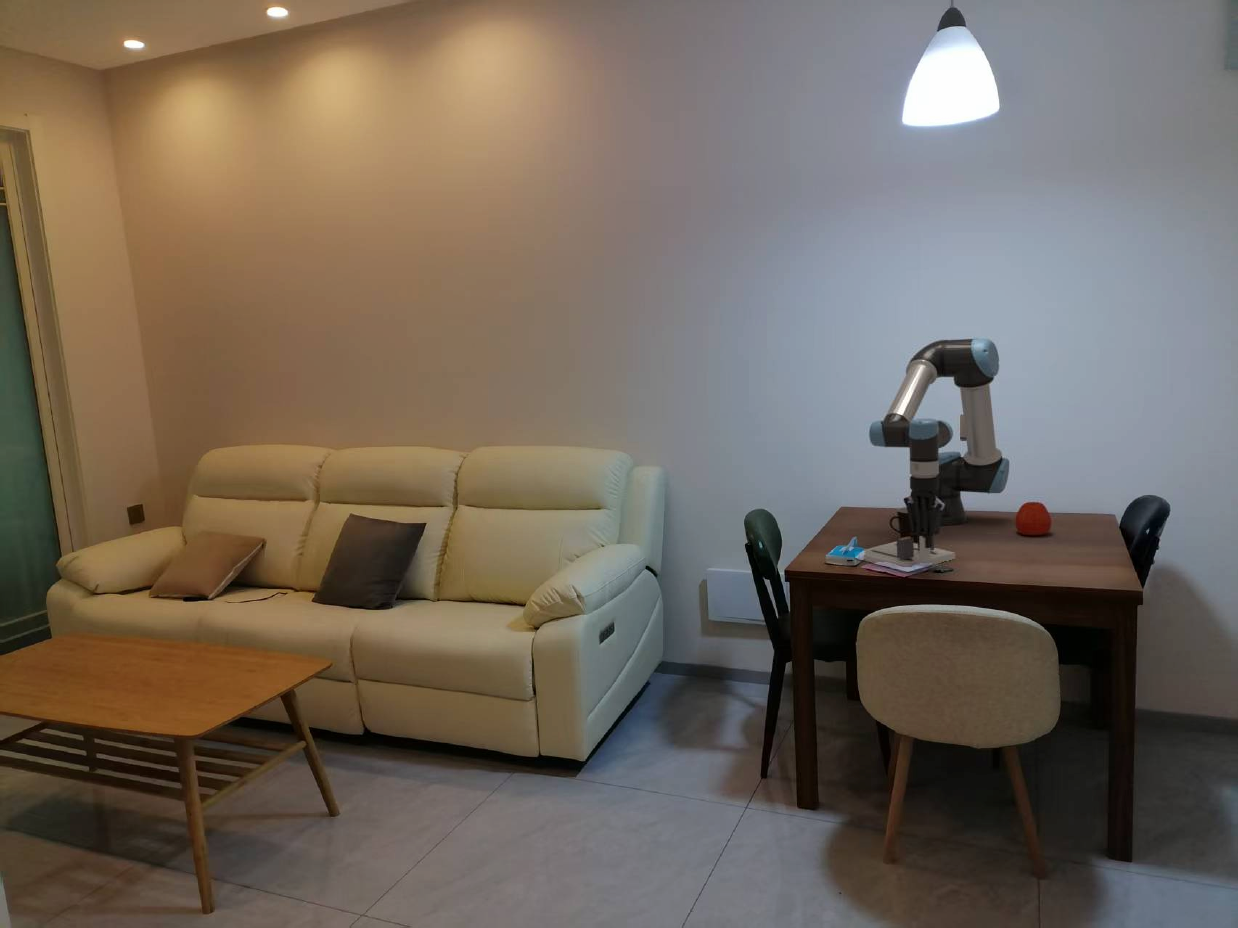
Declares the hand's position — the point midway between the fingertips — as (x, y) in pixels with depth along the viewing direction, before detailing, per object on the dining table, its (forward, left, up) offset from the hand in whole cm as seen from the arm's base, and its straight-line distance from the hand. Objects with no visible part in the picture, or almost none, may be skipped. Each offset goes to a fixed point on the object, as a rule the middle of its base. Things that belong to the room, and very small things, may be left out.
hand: (925, 558), depth 245 cm
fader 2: (-10, -8, -1) cm, 13 cm away
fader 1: (0, -7, -1) cm, 7 cm away
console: (-5, -12, -4) cm, 13 cm away
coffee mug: (-21, -25, -4) cm, 33 cm away
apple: (-54, -4, -4) cm, 54 cm away
